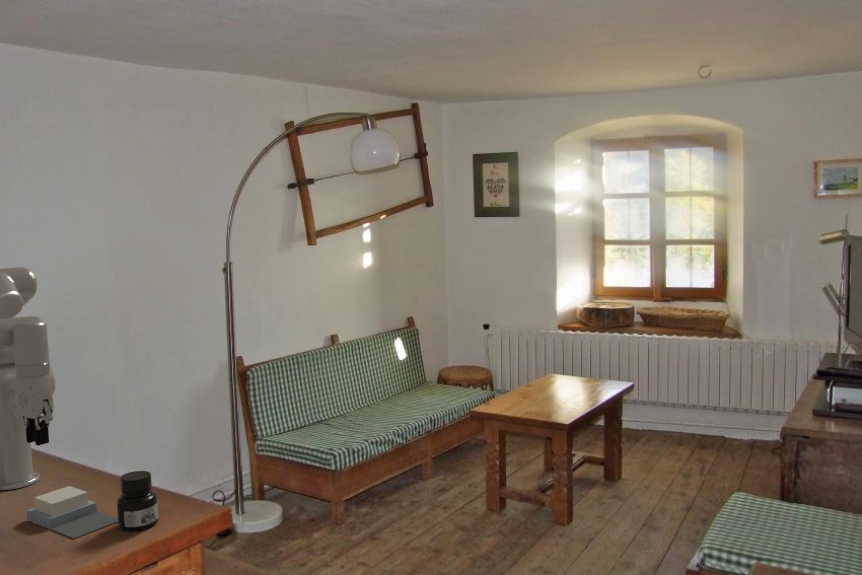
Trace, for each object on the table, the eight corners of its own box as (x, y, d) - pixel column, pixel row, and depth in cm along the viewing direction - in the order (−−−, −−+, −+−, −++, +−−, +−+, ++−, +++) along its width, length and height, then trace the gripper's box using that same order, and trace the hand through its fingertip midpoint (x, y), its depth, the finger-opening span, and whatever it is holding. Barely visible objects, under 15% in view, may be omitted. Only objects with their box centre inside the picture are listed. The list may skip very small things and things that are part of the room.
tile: (34, 509, 187) (34, 497, 186) (70, 497, 194) (69, 485, 194) (53, 516, 182) (52, 504, 182) (88, 503, 190) (87, 492, 189)
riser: (27, 520, 186) (26, 510, 186) (74, 504, 196) (73, 494, 196) (49, 529, 181) (49, 519, 180) (96, 512, 190) (96, 502, 190)
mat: (50, 529, 180) (50, 528, 180) (97, 512, 190) (97, 511, 190) (73, 539, 175) (73, 538, 175) (121, 521, 185) (120, 520, 185)
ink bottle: (128, 536, 176) (125, 485, 175) (109, 526, 182) (106, 477, 181) (167, 522, 184) (164, 473, 182) (147, 513, 189) (145, 466, 188)
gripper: (0, 369, 191) (5, 441, 193) (35, 377, 182) (41, 452, 184) (30, 364, 198) (35, 434, 199) (66, 371, 188) (70, 444, 190)
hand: (37, 442), depth 192 cm, fingers open, 3 cm apart
